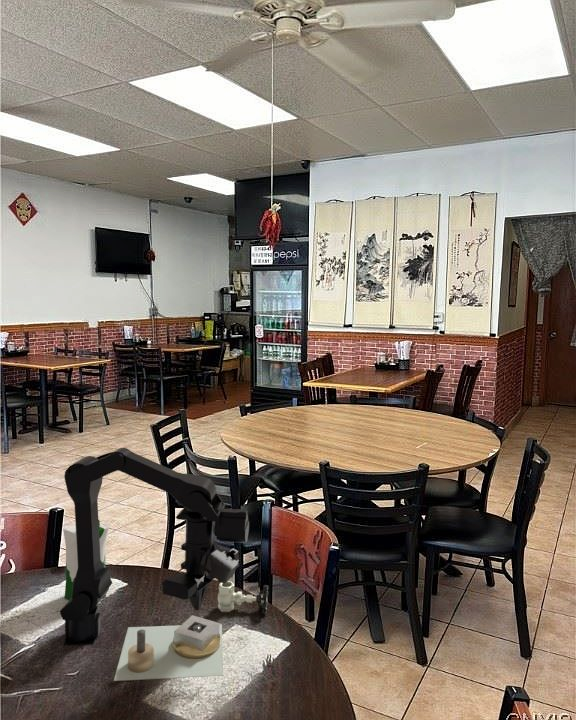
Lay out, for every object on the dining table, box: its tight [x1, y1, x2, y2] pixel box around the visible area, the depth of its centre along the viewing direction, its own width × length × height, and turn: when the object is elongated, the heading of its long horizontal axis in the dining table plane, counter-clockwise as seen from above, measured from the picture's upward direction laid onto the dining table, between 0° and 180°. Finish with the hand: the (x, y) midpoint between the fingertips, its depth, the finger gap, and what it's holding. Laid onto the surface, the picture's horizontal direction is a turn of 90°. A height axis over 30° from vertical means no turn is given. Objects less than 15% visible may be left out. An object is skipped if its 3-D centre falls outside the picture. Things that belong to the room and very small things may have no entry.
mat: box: [113, 623, 224, 682], centre depth 117 cm, size 21×18×1 cm
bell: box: [173, 625, 220, 659], centre depth 119 cm, size 10×10×4 cm
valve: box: [217, 580, 269, 615], centre depth 134 cm, size 7×7×12 cm
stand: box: [128, 630, 154, 673], centre depth 112 cm, size 5×5×7 cm
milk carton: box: [62, 519, 109, 602], centre depth 136 cm, size 9×9×20 cm
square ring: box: [174, 615, 221, 651], centre depth 119 cm, size 7×7×2 cm
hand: (197, 609), depth 119 cm, fingers closed
